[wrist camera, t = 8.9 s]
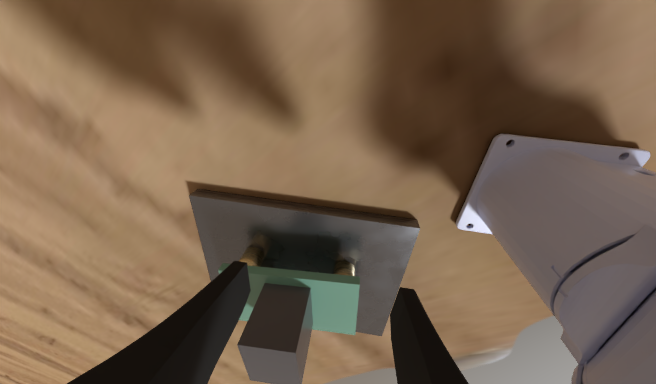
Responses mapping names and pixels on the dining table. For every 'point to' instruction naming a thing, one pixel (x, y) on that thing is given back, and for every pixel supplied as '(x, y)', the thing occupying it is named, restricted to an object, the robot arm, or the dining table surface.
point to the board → (324, 295)
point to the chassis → (309, 244)
